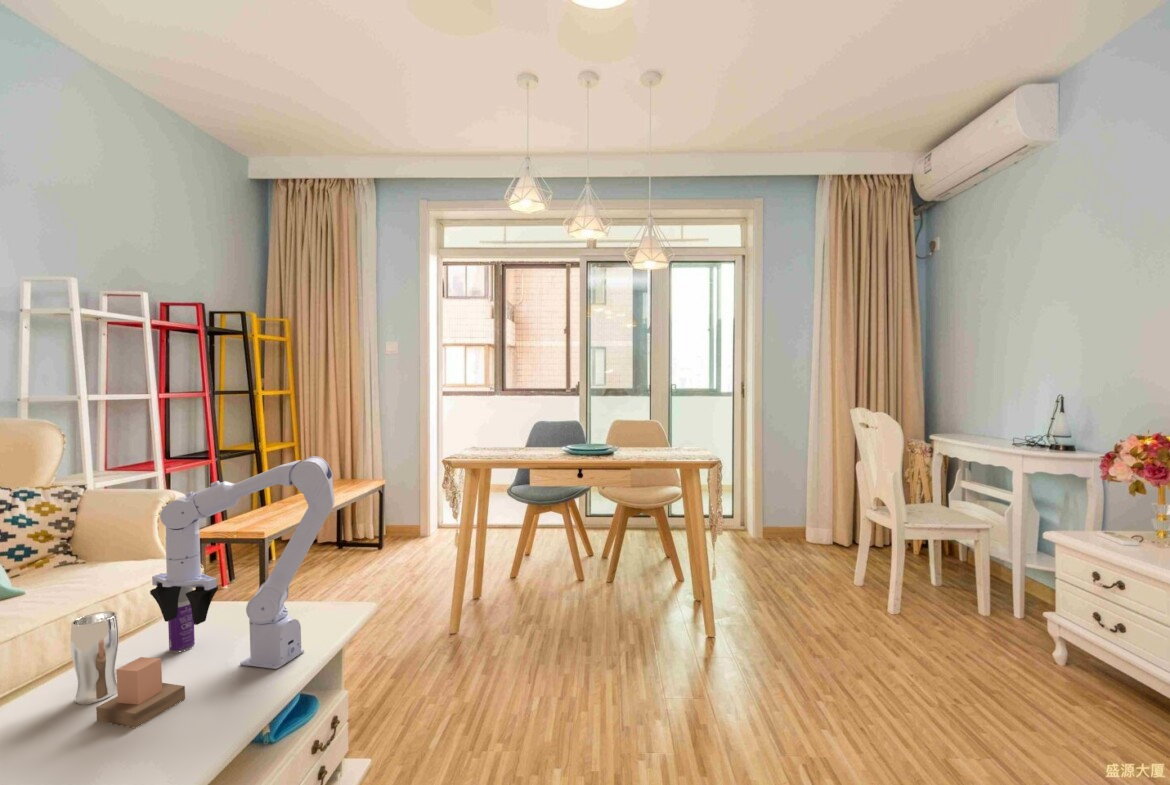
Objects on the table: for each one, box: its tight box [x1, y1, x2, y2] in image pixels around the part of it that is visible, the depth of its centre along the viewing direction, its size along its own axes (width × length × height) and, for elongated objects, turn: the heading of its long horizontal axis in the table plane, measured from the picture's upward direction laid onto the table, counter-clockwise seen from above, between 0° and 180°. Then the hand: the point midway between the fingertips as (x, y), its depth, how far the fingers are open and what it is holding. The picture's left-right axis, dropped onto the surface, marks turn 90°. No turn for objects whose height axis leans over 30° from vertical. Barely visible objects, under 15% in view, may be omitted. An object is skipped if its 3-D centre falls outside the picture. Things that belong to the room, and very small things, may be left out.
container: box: [167, 587, 196, 653], centre depth 125 cm, size 5×5×15 cm
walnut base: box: [95, 682, 186, 729], centre depth 101 cm, size 9×9×3 cm
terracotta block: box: [115, 656, 163, 705], centre depth 101 cm, size 4×4×6 cm
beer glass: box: [69, 610, 120, 706], centre depth 106 cm, size 7×7×15 cm
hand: (185, 621), depth 115 cm, fingers open, 7 cm apart
